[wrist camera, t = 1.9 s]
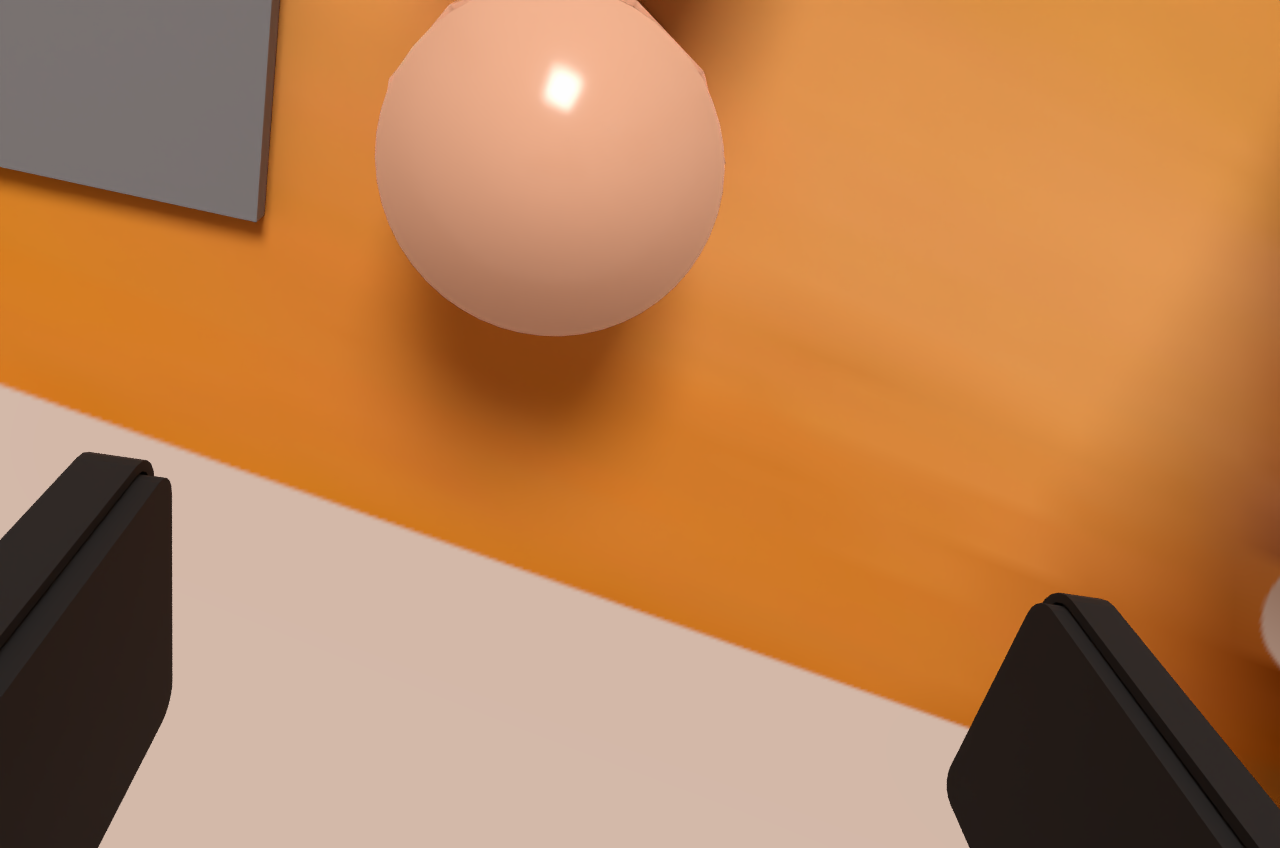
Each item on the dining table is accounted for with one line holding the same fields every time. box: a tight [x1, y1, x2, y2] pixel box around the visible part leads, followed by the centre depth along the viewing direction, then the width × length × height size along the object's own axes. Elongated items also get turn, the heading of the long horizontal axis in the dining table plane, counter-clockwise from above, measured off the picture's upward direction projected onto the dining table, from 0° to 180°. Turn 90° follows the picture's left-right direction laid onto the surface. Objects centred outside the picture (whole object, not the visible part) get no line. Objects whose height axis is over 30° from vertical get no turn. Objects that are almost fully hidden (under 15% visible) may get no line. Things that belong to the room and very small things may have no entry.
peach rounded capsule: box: [375, 0, 725, 336], centre depth 24 cm, size 8×8×8 cm
